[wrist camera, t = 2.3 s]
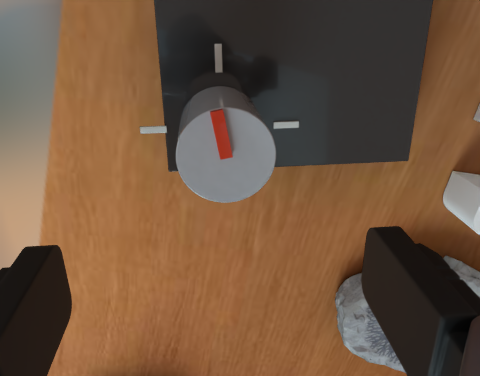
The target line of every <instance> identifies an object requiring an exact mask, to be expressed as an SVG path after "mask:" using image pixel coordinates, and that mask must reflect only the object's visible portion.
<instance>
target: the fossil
mask: <svg viewBox="0 0 480 376" xmlns="http://www.w3.org/2000/svg"><path fill="white" fill-rule="evenodd" d="M443 259H444V260H445V261H446V262H447V263H448V265H449V266H450V269H453V270H454V271H455V272H456V273H457V274H458V275H459V276H460V279H463V280H464V282H465V283H466V284H467V285H468V286H469V287H470V288H471V289H472V290H473V291H474V292H475V293H476V294H477V295H478V296H479V297H480V272H479V271H477V270H475V269H473V268H472V267H470V266H468V265H466V264H465V263H463V262H462V261H458V260H456V259H454V258H451V257H449V256H445V257H444V258H443ZM361 277H362V273H360V274H357V275H353V276H351V277H350V278H348V279H346V280H345V281H344V282H343V284H342V285H341V286H340V288H339V290H338V292H337V293H336V298H335V303H336V308H337V311H338V314H337V320H338V325H337V326H338V329H339V331H340V333H341V336H342V339H343V343H344V345H345V346H346V347H347V348H348V349H349V350H350V351H351V352H352V353H353V354H355V355H357V356H359V357H361V358H363V359H364V360H366V361H367V362H371V363H376V364H380V365H387V366H389V367H391V368H393V369H395V370H399V371H402V372H405V370H404V369H403V367H402V365H401V363H400V361H399V360H398V358H397V356H396V354H395V352H394V351H393V349H392V347H391V345H390V343H389V342H388V340H387V338H386V336H385V334H384V333H383V331H382V329H381V327H380V325H379V323H378V322H377V320H376V318H375V316H374V314H373V313H372V311H371V309H370V307H369V305H368V304H367V302H366V300H365V297H364V294H363V290H362V283H361ZM405 373H406V372H405Z"/></svg>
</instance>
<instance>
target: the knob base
mask: <svg viewBox="0 0 480 376" xmlns="http://www.w3.org/2000/svg"><path fill="white" fill-rule="evenodd" d="M432 4H433V0H154V5H155V17H156V29H157V40H158V52H159V64H160V76H161V87H162V99H163V111H164V123H165V126H140V133H141V134H145V133H165V134H166V146H167V158H168V170H169V172H172V171H178V168H177V164H176V146H177V139H178V132H179V125H180V119H181V114H182V112H183V109H184V108H185V106H186V104H187V103H188V101H189V100H190V99H191V98H192V97H193V96H194V95H196V94H197V93H199V92H200V91H202V90H205V89H207V88H210V87H216V86H225V87H231V88H234V89H237V90H239V91H241V92H242V93H244V94H245V95H247V96H248V97H249V98H250V99H251V100H252V102H253V103H254V104H255V106H256V108H257V109H258V111H259V113H260V115H261V116H262V118H263V120H264V122H265V123H266V125H267V127H268V129H269V130H270V132H271V134H272V136H273V139H274V142H275V146H276V161H275V166H274V167H283V166H306V165H328V164H350V163H372V162H395V161H408V159H409V152H410V146H411V140H412V133H413V127H414V120H415V114H416V107H417V101H418V94H419V88H420V81H421V75H422V68H423V62H424V56H425V49H426V43H427V36H428V30H429V23H430V17H431V10H432Z"/></svg>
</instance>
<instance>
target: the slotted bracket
mask: <svg viewBox="0 0 480 376" xmlns="http://www.w3.org/2000/svg"><path fill="white" fill-rule="evenodd" d="M473 120H476V121H478V122H480V104H479V106H478V109H477V111H476V114H475V116H474V119H473ZM443 203H444V205H445V207H446V208H447V209H448V210H449V211H451V212H452V213H453V214H454V215H455V216H457V217H458V218H459V219H460V220H462V221H463V222H464V223H465V224H466V225H468V226H469V227H470V228H471V229H473V230H474V231H475V232H476V233H477V234H479V235H480V175H477V174H471V173H464V172H457V171H452V174H451V176H450V179H449V181H448V184H447V186H446V189H445V191H444V194H443Z"/></svg>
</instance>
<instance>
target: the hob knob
mask: <svg viewBox="0 0 480 376" xmlns="http://www.w3.org/2000/svg"><path fill="white" fill-rule="evenodd" d="M275 161H276V146H275V142H274V139H273V136H272V134H271V132H270V130H269V129H268V127H267V125H266V123H265V122H264V120H263V118H262V116H261V115H260V113H259V111H258V109H257V108H256V106H255V104H254V103H253V102H252V100H251V99H250V98H249V97H248V96H247V95H245V94H244V93H242V92H241V91H239V90H237V89H234V88H231V87H225V86H216V87H210V88H207V89H205V90H202V91H200V92H199V93H197V94H196V95H194V96H193V97H192V98H191V99H190V100H189V101H188V103H187V104H186V106H185V108H184V109H183V112H182V114H181V119H180V125H179V132H178V139H177V146H176V164H177V168H178V171H179V174H180V176H181V178H182V180H183V181H184V183H185V184H186V185H187V186H188V187H189V188H190V189H191V190H192V191H193V192H194V193H196V194H197V195H199V196H201V197H203V198H205V199H208V200H211V201H215V202H223V203H224V202H235V201H239V200H243V199H245V198H247V197H249V196H251V195H253V194H254V193H256V192H257V191H258V190H260V189H261V188H262V187H263V186H264V184H265V183H266V182H267V181H268V179H269V178H270V176H271V174H272V172H273V169H274V166H275Z"/></svg>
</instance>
